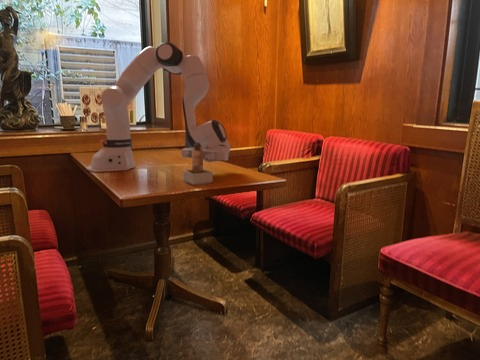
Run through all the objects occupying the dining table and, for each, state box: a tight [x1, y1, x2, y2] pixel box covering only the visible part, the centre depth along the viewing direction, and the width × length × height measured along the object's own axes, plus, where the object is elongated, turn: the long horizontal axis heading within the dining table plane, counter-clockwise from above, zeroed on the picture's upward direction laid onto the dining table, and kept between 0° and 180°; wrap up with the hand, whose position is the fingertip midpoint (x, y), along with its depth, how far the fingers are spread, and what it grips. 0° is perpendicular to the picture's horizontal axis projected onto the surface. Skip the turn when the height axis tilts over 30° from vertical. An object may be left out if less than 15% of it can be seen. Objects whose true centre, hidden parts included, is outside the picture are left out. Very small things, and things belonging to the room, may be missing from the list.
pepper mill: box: [191, 142, 204, 174], centre depth 153 cm, size 4×4×16 cm
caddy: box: [182, 168, 214, 186], centre depth 154 cm, size 9×9×4 cm
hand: (196, 156), depth 151 cm, fingers open, 8 cm apart
